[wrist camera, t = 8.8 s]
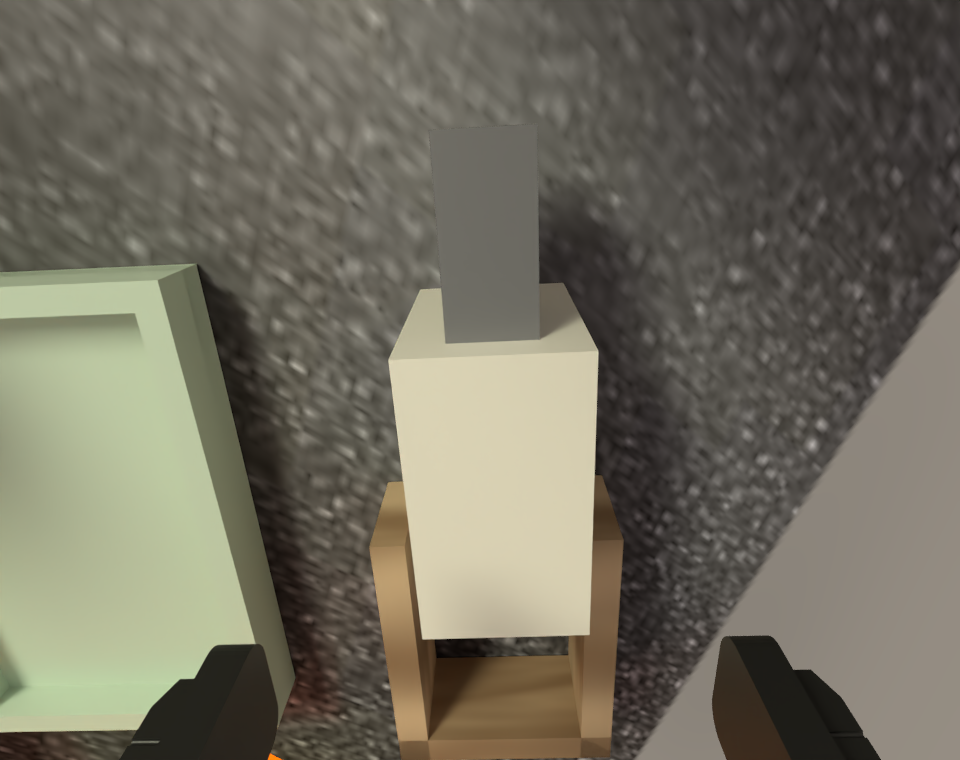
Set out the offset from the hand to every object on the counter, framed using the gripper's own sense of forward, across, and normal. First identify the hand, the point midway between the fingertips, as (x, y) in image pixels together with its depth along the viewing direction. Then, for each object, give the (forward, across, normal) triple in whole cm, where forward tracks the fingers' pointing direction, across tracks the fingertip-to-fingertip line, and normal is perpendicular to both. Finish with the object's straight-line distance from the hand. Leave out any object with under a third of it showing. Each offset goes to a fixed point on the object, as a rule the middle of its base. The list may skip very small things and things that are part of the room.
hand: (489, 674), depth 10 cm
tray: (+12, +17, +5) cm, 22 cm away
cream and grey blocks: (+12, 0, -2) cm, 13 cm away
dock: (+12, 0, +9) cm, 15 cm away
